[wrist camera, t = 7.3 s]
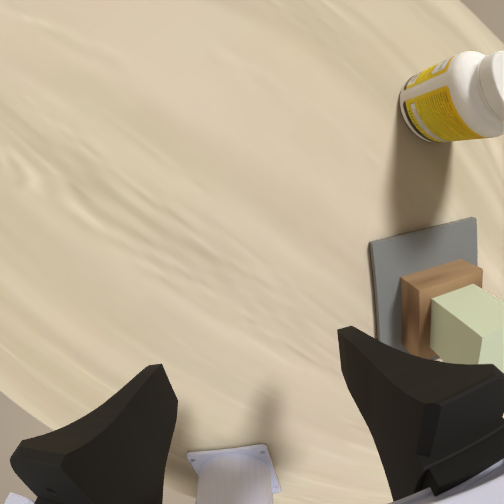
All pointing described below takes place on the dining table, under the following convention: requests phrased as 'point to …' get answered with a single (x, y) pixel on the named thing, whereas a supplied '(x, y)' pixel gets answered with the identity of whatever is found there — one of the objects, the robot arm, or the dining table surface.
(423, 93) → the supplement bottle
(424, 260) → the mat
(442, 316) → the sage pillar
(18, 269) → the dining table surface
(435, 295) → the walnut block
